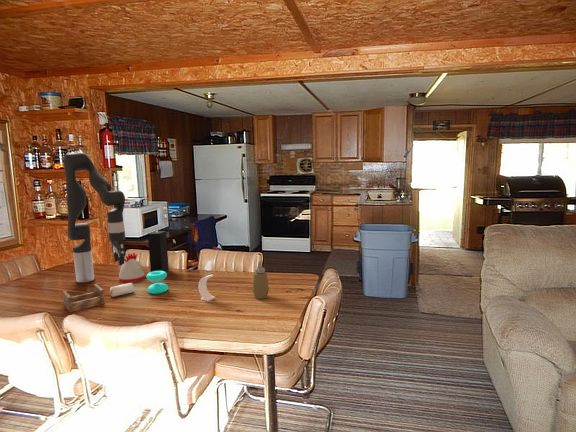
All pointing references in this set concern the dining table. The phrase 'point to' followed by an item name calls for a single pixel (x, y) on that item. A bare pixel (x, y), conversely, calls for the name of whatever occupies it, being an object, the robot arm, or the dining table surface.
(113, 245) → the robot arm
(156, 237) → the black rectangular block
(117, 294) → the paper roll
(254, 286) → the squeeze bottle
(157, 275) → the teal stacked discs
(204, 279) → the white curved piece
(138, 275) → the beanie hat
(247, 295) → the dining table surface
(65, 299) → the roll cradle
